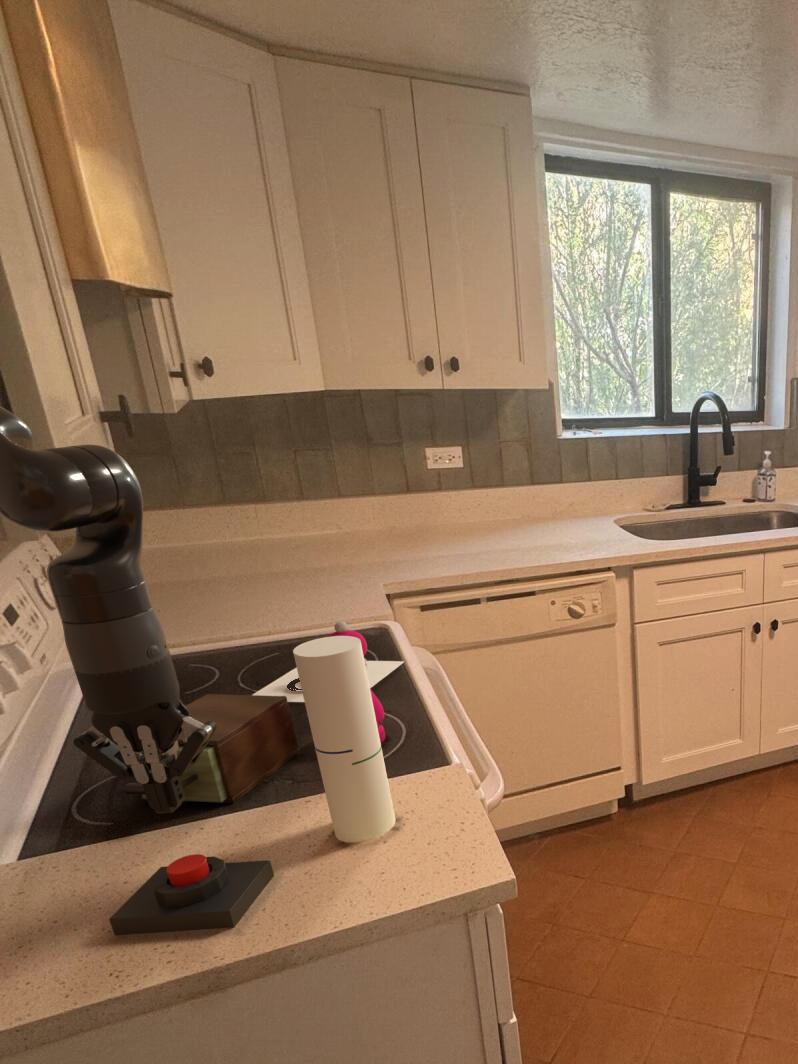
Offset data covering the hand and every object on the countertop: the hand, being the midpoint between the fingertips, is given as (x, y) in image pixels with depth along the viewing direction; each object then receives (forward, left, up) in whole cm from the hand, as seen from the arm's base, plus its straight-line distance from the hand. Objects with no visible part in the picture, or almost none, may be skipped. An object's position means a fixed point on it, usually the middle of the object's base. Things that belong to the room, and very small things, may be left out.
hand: (169, 808), depth 83 cm
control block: (0, 0, -12) cm, 12 cm away
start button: (0, 0, -9) cm, 9 cm away
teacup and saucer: (-12, +66, -12) cm, 68 cm away
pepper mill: (+4, +39, -12) cm, 41 cm away
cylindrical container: (+13, +14, -12) cm, 23 cm away
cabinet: (-12, +30, -12) cm, 35 cm away
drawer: (-13, +26, -11) cm, 31 cm away
